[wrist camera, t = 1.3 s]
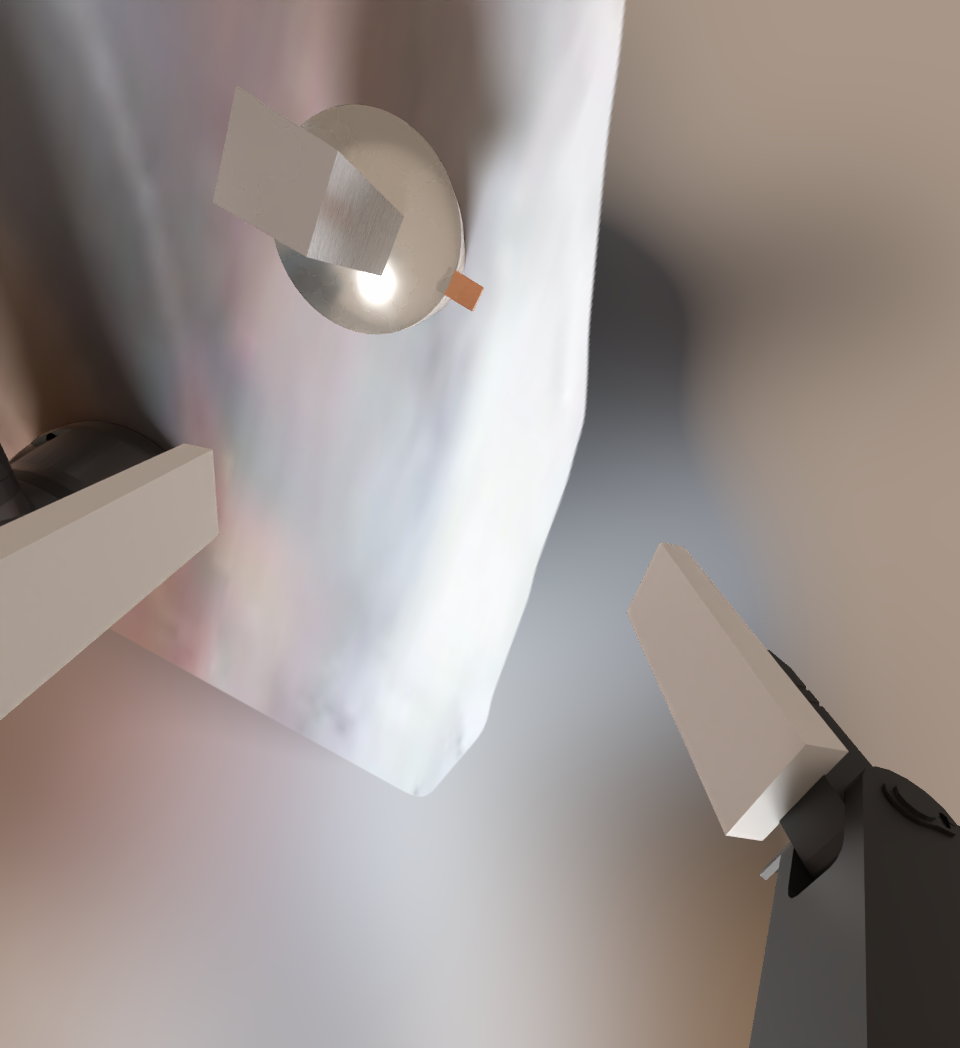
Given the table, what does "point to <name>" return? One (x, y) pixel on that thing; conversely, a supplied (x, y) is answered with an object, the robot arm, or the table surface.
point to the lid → (349, 211)
